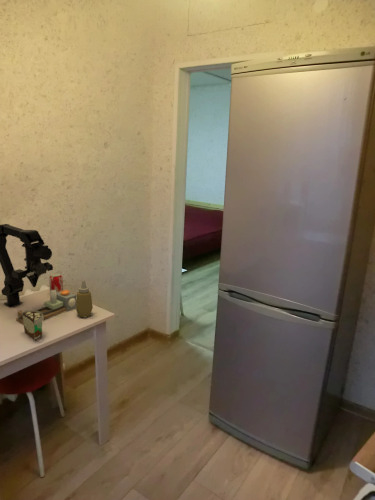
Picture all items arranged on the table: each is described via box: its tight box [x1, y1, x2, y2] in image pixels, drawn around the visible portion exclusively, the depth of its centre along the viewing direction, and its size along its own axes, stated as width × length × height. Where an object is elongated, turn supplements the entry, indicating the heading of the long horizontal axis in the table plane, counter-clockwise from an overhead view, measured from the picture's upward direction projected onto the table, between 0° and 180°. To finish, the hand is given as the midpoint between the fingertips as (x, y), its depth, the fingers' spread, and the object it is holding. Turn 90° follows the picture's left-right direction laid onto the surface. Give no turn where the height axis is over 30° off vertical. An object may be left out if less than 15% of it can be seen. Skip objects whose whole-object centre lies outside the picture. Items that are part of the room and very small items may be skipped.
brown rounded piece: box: [60, 289, 70, 295], centre depth 179 cm, size 4×4×4 cm
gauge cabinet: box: [56, 291, 77, 312], centre depth 180 cm, size 10×6×7 cm, turn 57°
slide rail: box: [15, 305, 67, 326], centre depth 169 cm, size 9×22×4 cm, turn 147°
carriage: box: [43, 290, 63, 310], centre depth 173 cm, size 7×6×8 cm
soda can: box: [48, 272, 64, 293], centre depth 194 cm, size 7×7×12 cm
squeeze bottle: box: [75, 280, 94, 318], centre depth 170 cm, size 8×8×18 cm
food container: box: [22, 309, 45, 342], centre depth 151 cm, size 12×6×10 cm, turn 48°
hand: (34, 286), depth 171 cm, fingers closed
